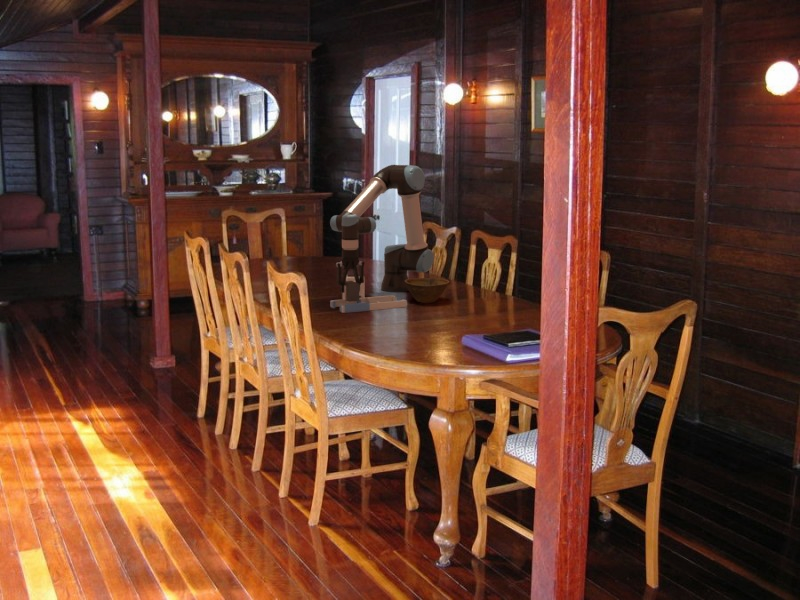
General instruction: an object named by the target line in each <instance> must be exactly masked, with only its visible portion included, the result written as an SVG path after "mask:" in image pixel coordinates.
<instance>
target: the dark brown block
mask: <svg viewBox="0 0 800 600" xmlns="http://www.w3.org/2000/svg"><path fill="white" fill-rule="evenodd" d="M345 286H346V301H349V302H352V301H359V298H360V296H359V283H356V282H354V281H345ZM341 300H343V293H342V292H341Z"/></svg>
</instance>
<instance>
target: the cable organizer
mask: <svg viewBox="0 0 800 600" xmlns="http://www.w3.org/2000/svg"><path fill="white" fill-rule="evenodd" d="M346 281H354V282H356V281H355V277H354V276H347V277H346ZM365 286H366V282H365V278H364V283H361V285H360V291H359V297H360V298H366V297H365V295H366V293H365V290H366V289H365V288H366V287H365Z"/></svg>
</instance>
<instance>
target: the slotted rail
mask: <svg viewBox="0 0 800 600" xmlns="http://www.w3.org/2000/svg"><path fill="white" fill-rule="evenodd" d="M329 303H330V304H329V305H330V308H331V309H336V308H339V312H340V313H342V314H344V313H345V314H346V313H357V312H368V311H377V310H386V309H387V310H388V309H396V308H397V309H400V308H407V304H408V303H407V300H406V299H401V300H397V296H396V295H393V294H391V295H379V296H370V297H369V296H368V297H365V298H361V297H359V301H352V302H349V301H346V300H344V299H334V300H330V301H329Z"/></svg>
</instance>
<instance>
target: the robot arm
mask: <svg viewBox="0 0 800 600" xmlns="http://www.w3.org/2000/svg"><path fill="white" fill-rule="evenodd" d="M425 182H426V178H425V173H424V171H423V169H422V168H421V167H419V166H418V165H413V164H391V165H386V166H385V167H382V168H381V169H379V171H377V172H376V173H375V174H374V175H373V176H372V177H371V178H370V180H369V183H368V184H367V185H366V186H365V188H364V189H363V190H362V191H361V192H360V193H359V194H358V195H357V196H356V197H355V199H353V201H352V202H350V204H349V205H348V206H347V207H345V209H344V210H343V211H342V213H340V214H339V215H338V214H336V215H333V216H332V217H331V218H330V220H329V224H330V225H329V226H330V227H331V230H332V231H334V232H338V233H341V248H342V250H341V261H340V262H336V263H335V266H336V284H337V285H339V286H340V293H341V294H342V293H343V299H344V300H346V286H345V281H346V277H348V273H349V271H350V270H352V273H353V277H355V281H356V283H359V291H360V285H361V283H364V279H365V273H364V271H365V269H364V266H365V264H366V262H365V261H363V260H360V259H359V235H368V234H371V233H374V232H375V230H377V229H376V228H377V222H376V220H375V219H374V217H371V216H365V217H364V216H363V217H362V215H363V214H364V213H365V212H366V211H367V210H368V208H369V209H370V206H371V205H372V204H374V202H375V201H376V200H377V199H378V198H379V197H380V196H381V195H382V194H385V193H386V192H387V191H388V190H397V195H398V196H399V197H400V198H401V206H402V213H403V220H404V221H403V222H404V229H405V237H406V243H399V244H392V245H391V244H390V245H386V246H385V248H384V254H383V255H384V256H383V259H384V262H383V263H384V266H383V267H384V275H383V279H382V281H381V285H380V290H381V291H385V292H391V293H395V292H396V293H397V292H398V293H399V292H401V293H402V292H407V291H409V290H408V288H407V286H406V284H405V280H407V279H409V275H408V272H416V273H427V272H428V271H430V270H431V268H432V266H433V264H434V261H435V256H434V251H432V249H430V248H429V245H428V243H427V242H426V241H425V238H424V237H425V235H424V230H423V220H422V214H421V213H422V211H421V204H420V203H421V202H420V194H421V193H422V189H424V187H425ZM342 266H343V269H342ZM357 266H358V267H359V268H358V267H357ZM343 299H342V300H343Z"/></svg>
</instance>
